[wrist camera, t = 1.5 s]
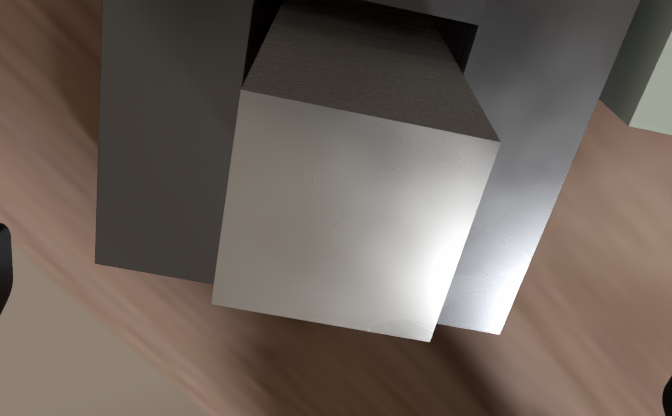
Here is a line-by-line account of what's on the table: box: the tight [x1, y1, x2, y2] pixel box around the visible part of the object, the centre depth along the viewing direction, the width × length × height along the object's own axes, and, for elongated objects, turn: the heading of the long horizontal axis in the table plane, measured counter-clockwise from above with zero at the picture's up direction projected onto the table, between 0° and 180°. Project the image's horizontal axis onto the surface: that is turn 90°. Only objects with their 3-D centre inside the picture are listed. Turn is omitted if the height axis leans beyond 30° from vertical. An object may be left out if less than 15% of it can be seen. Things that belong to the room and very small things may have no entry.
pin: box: [211, 0, 501, 342], centre depth 15 cm, size 4×4×10 cm
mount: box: [95, 0, 640, 335], centre depth 17 cm, size 12×12×4 cm
